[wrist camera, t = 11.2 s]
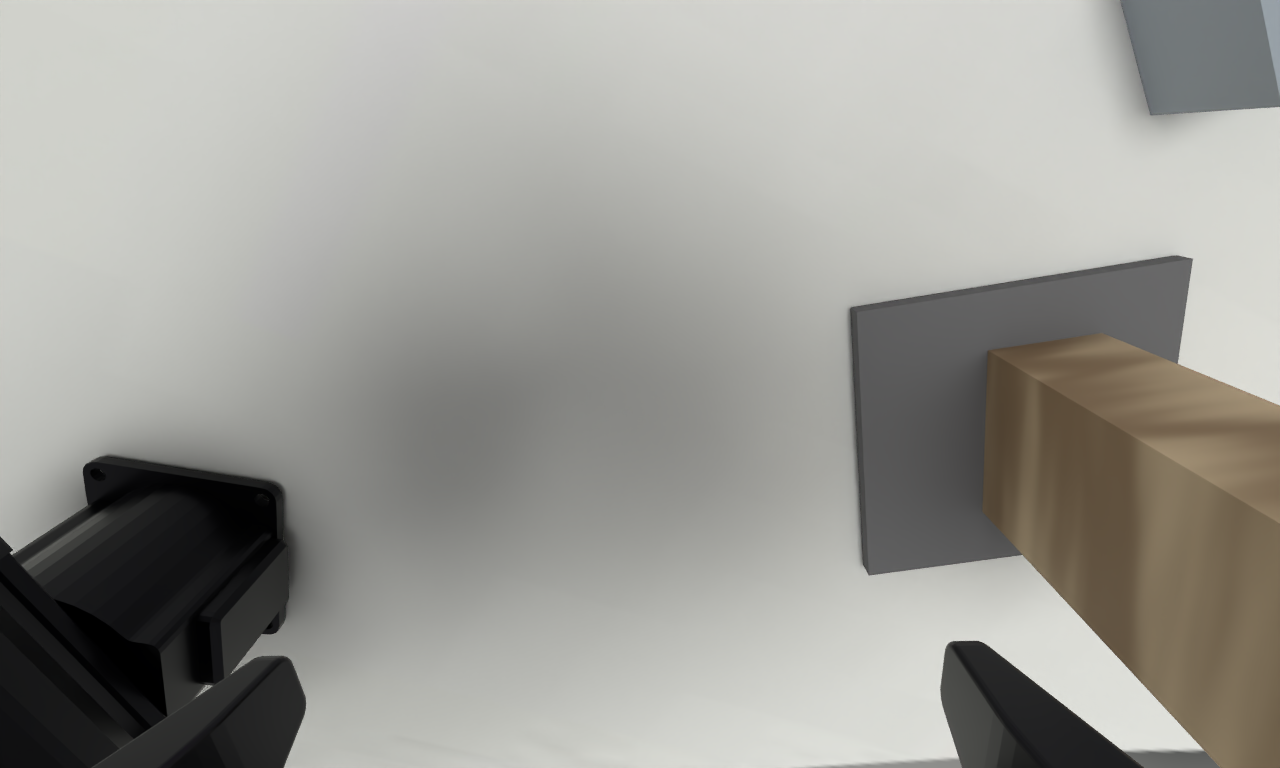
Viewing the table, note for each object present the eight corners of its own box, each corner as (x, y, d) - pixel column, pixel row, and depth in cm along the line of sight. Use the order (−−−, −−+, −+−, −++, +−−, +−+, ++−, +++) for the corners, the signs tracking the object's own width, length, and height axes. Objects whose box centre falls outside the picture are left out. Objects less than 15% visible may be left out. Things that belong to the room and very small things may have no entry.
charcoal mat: (863, 565, 23) (868, 575, 23) (850, 307, 20) (857, 312, 19) (1139, 527, 23) (1152, 537, 22) (1177, 255, 19) (1192, 258, 19)
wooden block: (982, 511, 22) (1485, 1053, 9) (987, 350, 20) (1658, 748, 7) (1085, 497, 22) (1755, 1030, 9) (1101, 333, 20) (2020, 708, 7)
